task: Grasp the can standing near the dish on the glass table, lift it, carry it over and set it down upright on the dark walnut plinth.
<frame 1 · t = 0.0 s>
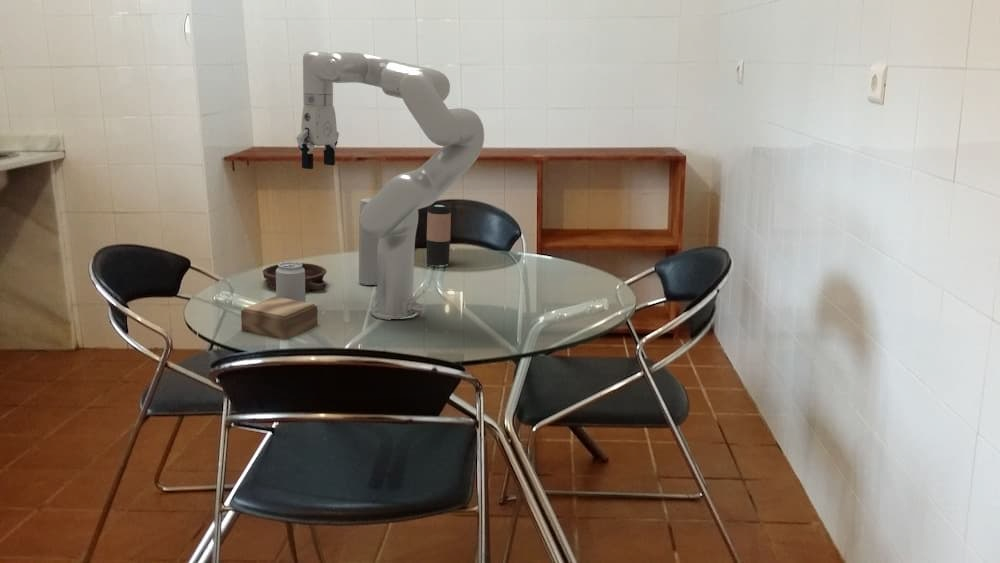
hand: (318, 166, 229), 37 cm above the table, tool pointing down, fingers open, 9 cm apart
water bottle: (372, 283, 258), on the table
travel mug: (437, 265, 283), on the table
dish: (295, 287, 251), on the table
plinth: (280, 327, 214), on the table
can: (291, 308, 231), on the table
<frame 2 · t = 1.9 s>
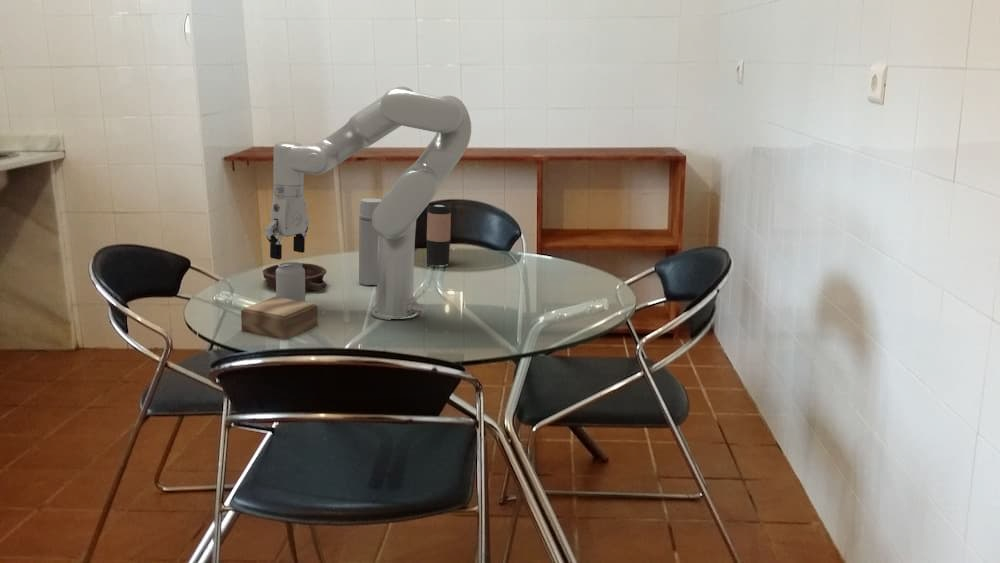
hand: (287, 255, 227), 14 cm above the table, tool pointing down, fingers open, 9 cm apart
nothing on the table moved.
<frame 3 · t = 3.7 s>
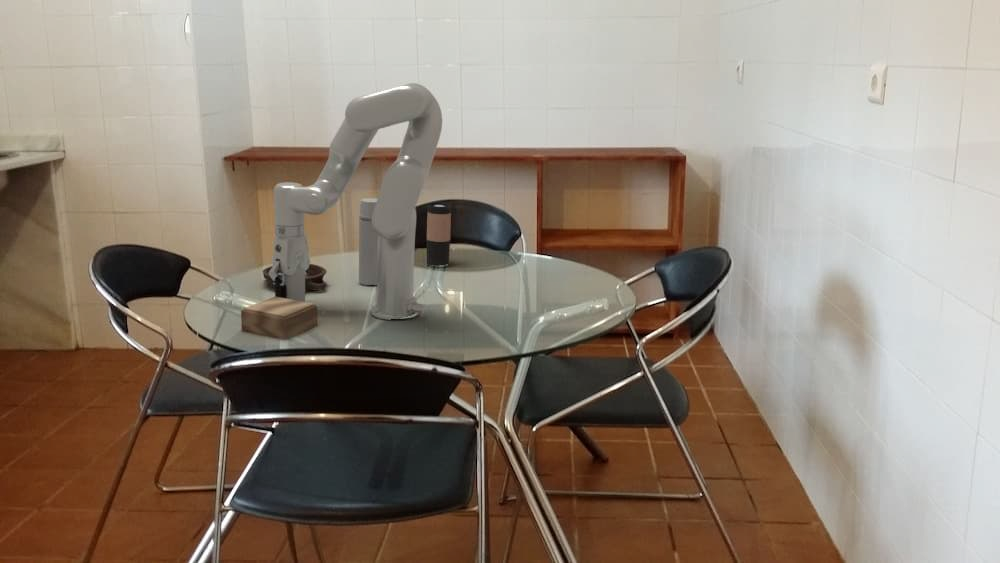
hand: (290, 295, 230), 3 cm above the table, tool pointing down, fingers closed on can, 7 cm apart
can: (290, 308, 231), on the table, touching gripper
everything else where it was.
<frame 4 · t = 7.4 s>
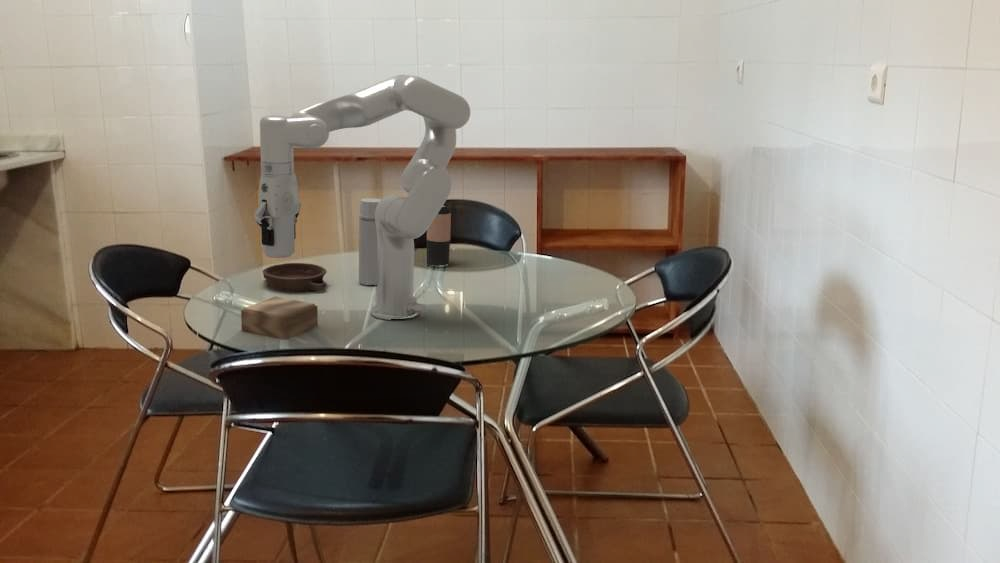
hand: (278, 241, 209), 22 cm above the table, tool pointing down, fingers closed on can, 7 cm apart
can: (279, 256, 210), point 18 cm above the table, touching gripper
everything else where it was.
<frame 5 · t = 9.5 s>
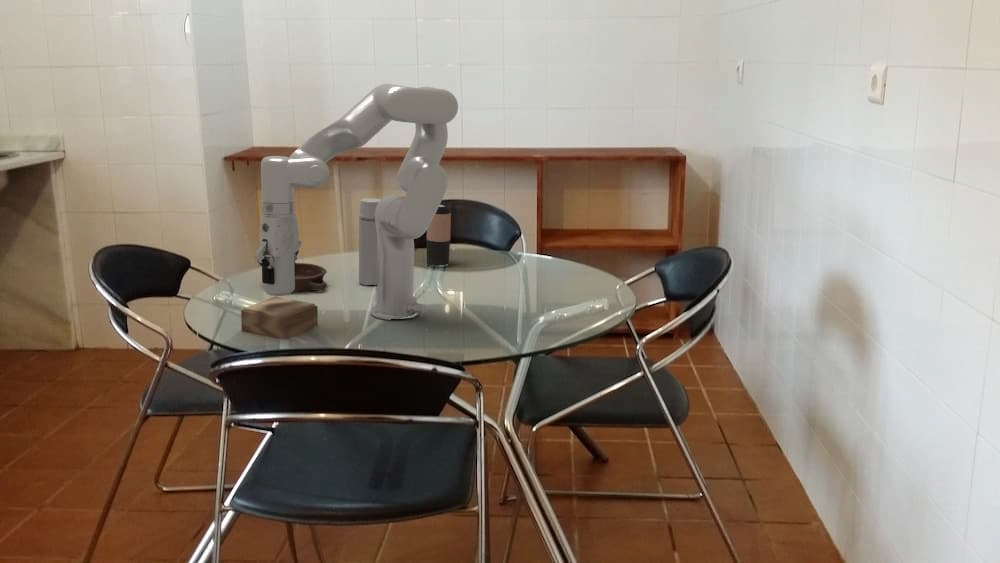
hand: (279, 279, 211), 12 cm above the table, tool pointing down, fingers closed on can, 7 cm apart
can: (279, 293, 212), point 9 cm above the table, touching gripper
everything else where it was.
when the fingers open (10 cm above the table, at t = 11.2 s): can stays where it is, resting on plinth.
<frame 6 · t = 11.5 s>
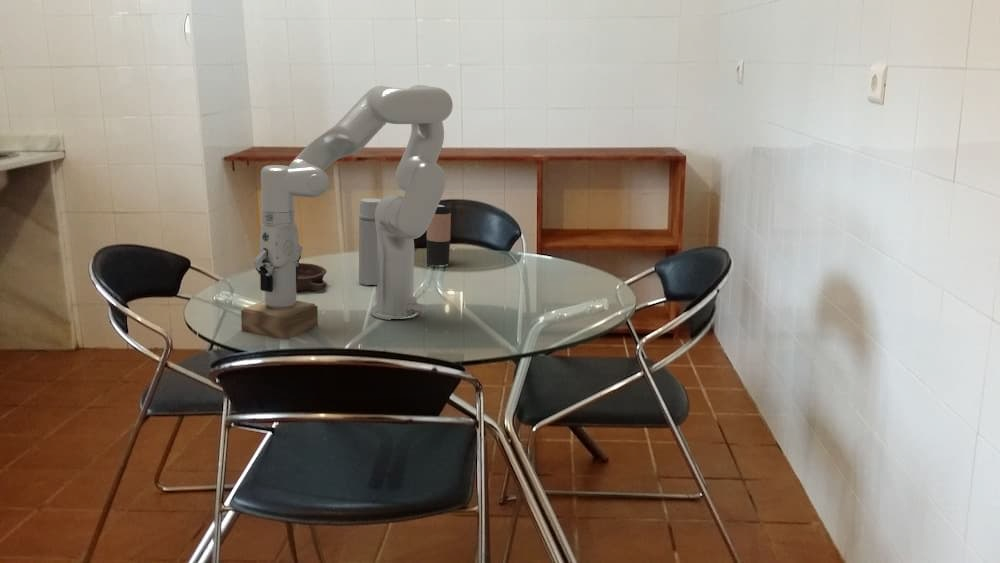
hand: (279, 286, 212), 11 cm above the table, tool pointing down, fingers open, 9 cm apart
can: (280, 306, 213), point 5 cm above the table, touching plinth
everything else where it was.
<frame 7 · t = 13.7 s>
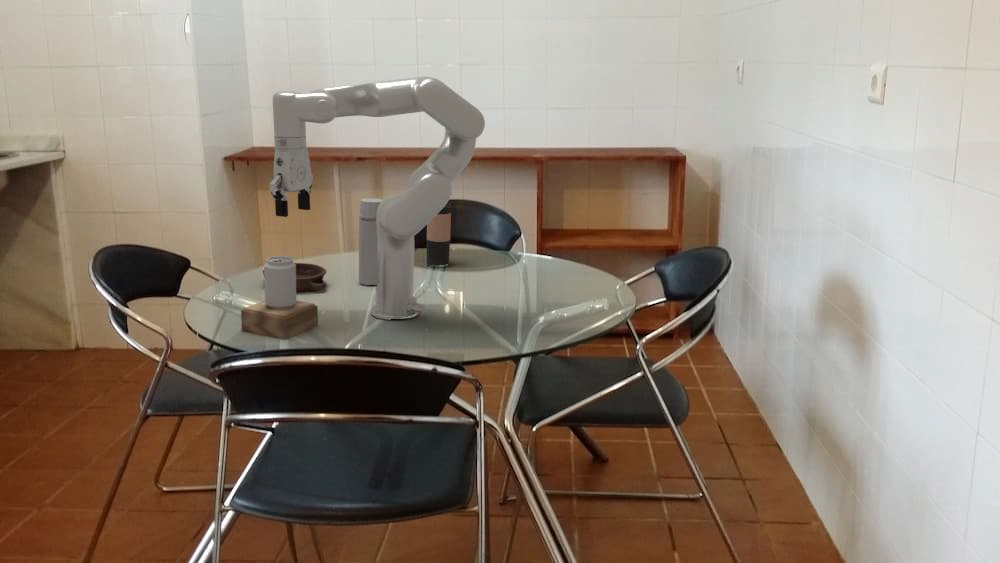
hand: (293, 212, 215), 27 cm above the table, tool pointing down, fingers open, 9 cm apart
nothing on the table moved.
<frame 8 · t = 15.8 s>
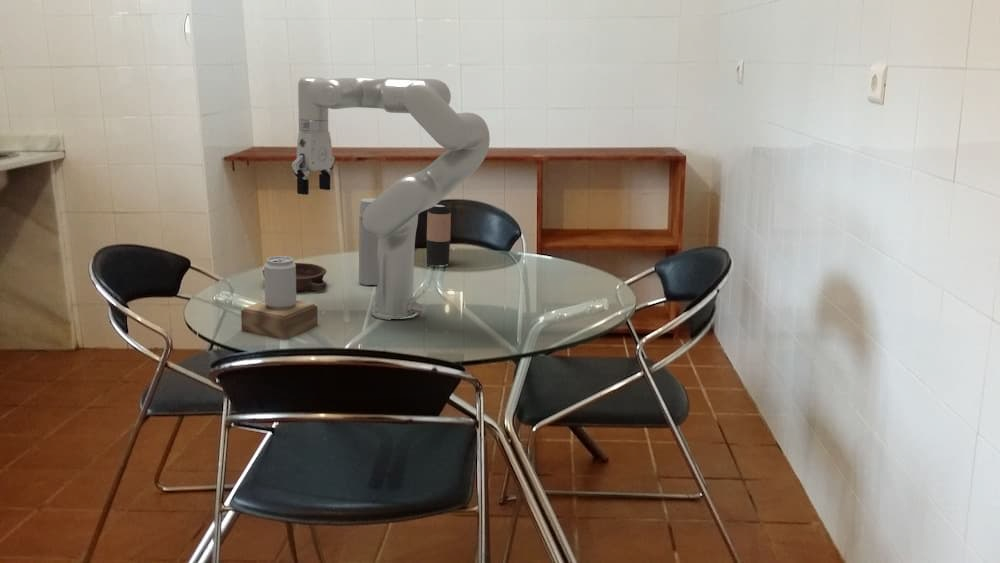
hand: (314, 191, 229), 30 cm above the table, tool pointing down, fingers open, 9 cm apart
nothing on the table moved.
at the end: can inside the target area on the plinth (0.3 cm from its centre), point 5.4 cm above the plinth's base; can tilted 0°; the gripper is holding nothing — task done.
